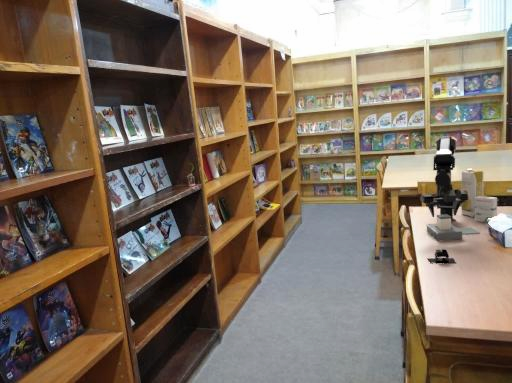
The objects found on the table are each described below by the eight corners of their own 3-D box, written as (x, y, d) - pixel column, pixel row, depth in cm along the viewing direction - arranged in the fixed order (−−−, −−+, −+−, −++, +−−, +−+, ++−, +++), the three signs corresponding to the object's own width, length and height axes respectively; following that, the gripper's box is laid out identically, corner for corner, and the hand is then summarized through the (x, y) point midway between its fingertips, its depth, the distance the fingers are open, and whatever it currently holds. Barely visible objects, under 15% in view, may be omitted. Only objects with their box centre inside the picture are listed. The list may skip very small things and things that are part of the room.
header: (426, 231, 187) (426, 224, 186) (449, 229, 186) (449, 222, 186) (437, 240, 173) (437, 233, 173) (462, 239, 173) (462, 231, 172)
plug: (436, 234, 182) (436, 214, 181) (447, 233, 182) (447, 214, 180) (440, 237, 178) (440, 217, 176) (451, 236, 178) (451, 216, 176)
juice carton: (458, 213, 210) (459, 168, 205) (471, 211, 212) (472, 166, 207) (472, 217, 201) (472, 170, 196) (485, 215, 203) (486, 168, 198)
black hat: (457, 258, 154) (457, 247, 153) (462, 266, 147) (462, 254, 146) (422, 259, 157) (422, 247, 156) (426, 266, 150) (425, 254, 149)
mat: (453, 229, 186) (453, 228, 186) (471, 228, 185) (471, 227, 185) (461, 234, 178) (461, 233, 178) (479, 233, 178) (479, 232, 178)
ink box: (497, 220, 193) (497, 196, 190) (493, 223, 190) (493, 199, 187) (478, 218, 199) (478, 195, 197) (473, 220, 196) (474, 197, 194)
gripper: (428, 186, 168) (428, 222, 171) (474, 183, 167) (474, 219, 170) (419, 182, 179) (419, 216, 182) (462, 178, 178) (462, 212, 181)
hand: (443, 216), depth 178 cm, fingers open, 9 cm apart
